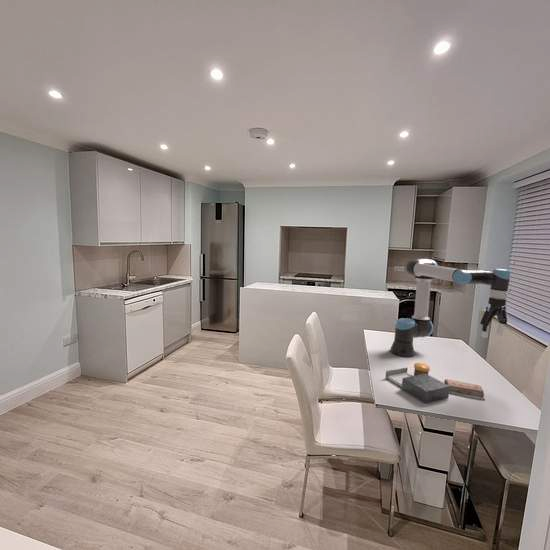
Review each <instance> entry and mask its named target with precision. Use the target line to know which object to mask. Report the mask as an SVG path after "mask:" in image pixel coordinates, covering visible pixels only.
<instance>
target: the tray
mask: <svg viewBox="0 0 550 550" xmlns="http://www.w3.org/2000/svg"><path fill="white" fill-rule="evenodd" d="M411 376H413V375H412V374H410V373H408V367H402V368H401V367H400V368H396V369H395V368H394V369H390V370H389V369H388V370H386V371H385V380H389V381H390V382H392V383H394V384H396V385H397V386H399V387H400V388H402V380H403V378H406V377H411Z"/></svg>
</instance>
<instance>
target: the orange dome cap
mask: <svg viewBox="0 0 550 550" xmlns="http://www.w3.org/2000/svg"><path fill="white" fill-rule="evenodd" d="M413 368H414V370H415V369H417V370H419V371H423V372H428V371H429V372H430V371H431V367H430V366H429V365H428V364H426V363H421V362H415V363H413ZM429 372H428V373H429Z"/></svg>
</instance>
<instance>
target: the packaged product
mask: <svg viewBox="0 0 550 550" xmlns="http://www.w3.org/2000/svg"><path fill="white" fill-rule="evenodd" d="M442 382H443V383H445V384H447V385H449V386H450V390H449V394H452V395H456V396H460V397H461V396H462V397H466V398H471V399H477V400H481V401H486V399H485V397H484V396H485V393H484V392H485V391H484V389H483V387H482V386H481V385H479V384H474V383H468V382H464V381H458V380H453V379H444V381H442Z"/></svg>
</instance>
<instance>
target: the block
mask: <svg viewBox="0 0 550 550" xmlns="http://www.w3.org/2000/svg"><path fill="white" fill-rule="evenodd" d="M429 372H430V371H428V372H423V371H419V370H417V369H415V368H414V372H413V376H416V375H421V374H427V375H429Z"/></svg>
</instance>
